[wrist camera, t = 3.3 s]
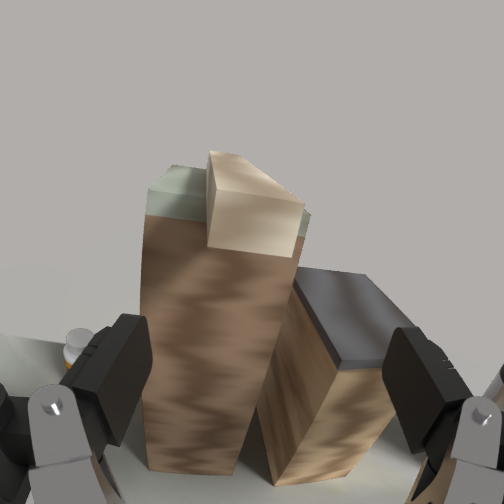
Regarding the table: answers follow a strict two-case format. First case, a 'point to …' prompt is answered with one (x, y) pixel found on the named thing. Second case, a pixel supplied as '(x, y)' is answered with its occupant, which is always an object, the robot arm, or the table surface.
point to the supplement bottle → (75, 345)
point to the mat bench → (327, 376)
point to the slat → (249, 208)
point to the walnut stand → (204, 329)
